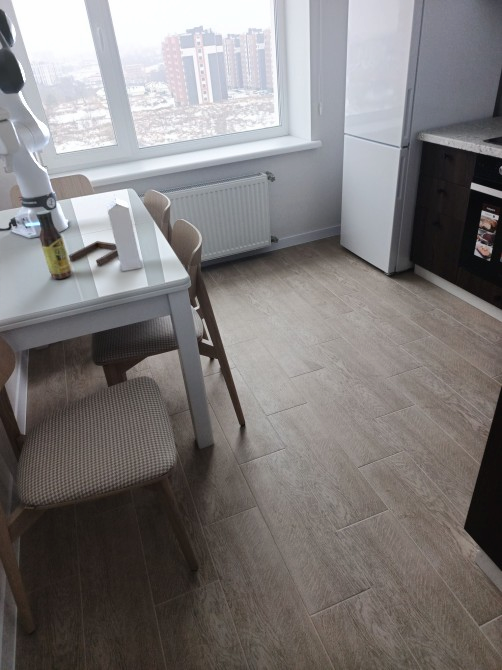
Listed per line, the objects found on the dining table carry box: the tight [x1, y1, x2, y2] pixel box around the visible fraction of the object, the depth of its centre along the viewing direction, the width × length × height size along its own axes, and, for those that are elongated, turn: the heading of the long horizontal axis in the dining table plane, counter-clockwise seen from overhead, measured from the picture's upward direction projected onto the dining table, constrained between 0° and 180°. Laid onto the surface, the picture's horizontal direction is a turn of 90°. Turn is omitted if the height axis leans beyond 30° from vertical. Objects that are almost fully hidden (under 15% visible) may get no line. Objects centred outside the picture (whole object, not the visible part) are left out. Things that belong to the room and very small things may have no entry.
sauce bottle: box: [36, 210, 72, 280], centre depth 141 cm, size 7×6×20 cm
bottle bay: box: [68, 240, 119, 267], centre depth 157 cm, size 13×13×2 cm
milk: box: [106, 195, 142, 272], centre depth 143 cm, size 6×6×22 cm
